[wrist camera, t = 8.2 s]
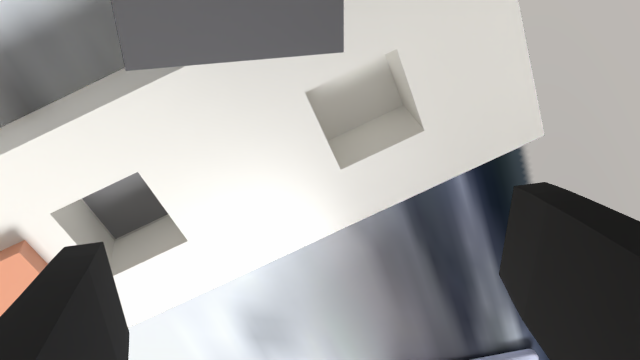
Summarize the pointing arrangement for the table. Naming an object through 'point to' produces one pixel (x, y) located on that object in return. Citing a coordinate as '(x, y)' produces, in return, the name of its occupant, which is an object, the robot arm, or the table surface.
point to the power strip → (261, 149)
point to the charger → (225, 30)
